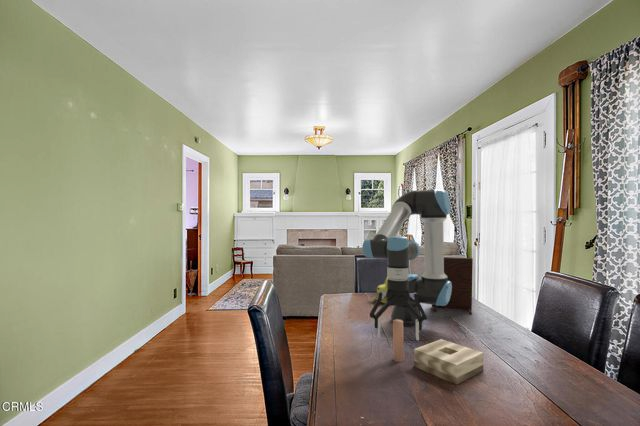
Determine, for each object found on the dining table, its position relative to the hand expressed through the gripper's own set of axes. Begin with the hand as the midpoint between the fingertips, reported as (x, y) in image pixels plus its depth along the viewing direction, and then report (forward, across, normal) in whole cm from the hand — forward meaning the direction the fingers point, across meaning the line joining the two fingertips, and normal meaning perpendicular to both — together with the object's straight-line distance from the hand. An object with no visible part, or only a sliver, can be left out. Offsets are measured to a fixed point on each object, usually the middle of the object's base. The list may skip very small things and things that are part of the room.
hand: (397, 338), depth 122 cm
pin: (+8, 0, 0) cm, 8 cm away
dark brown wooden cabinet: (+7, +35, +70) cm, 79 cm away
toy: (+7, +2, +86) cm, 87 cm away
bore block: (+8, +16, -5) cm, 19 cm away
